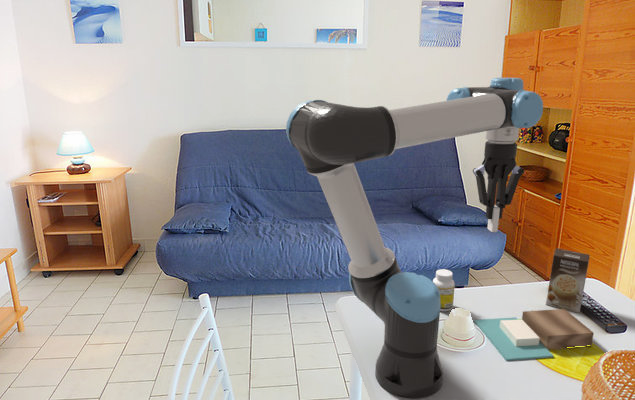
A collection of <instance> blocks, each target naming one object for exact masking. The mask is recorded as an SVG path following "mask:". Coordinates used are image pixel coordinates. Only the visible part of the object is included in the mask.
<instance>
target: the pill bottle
mask: <svg viewBox="0 0 635 400" xmlns="http://www.w3.org/2000/svg"><path fill="white" fill-rule="evenodd" d="M453 276H454V273H453V272H452V271H451V270H449V269H443V268H442V269H441V268H440V269H437V270H436V271H435V277H434V278H433V280H432V281H433V282H434V283H435V284H436V286H437V287H438V289H439V292H440V304H441V309H440V312H449V311H452V310H453V307H454V296H455V286H456V285H455V281H454V279H453Z"/></svg>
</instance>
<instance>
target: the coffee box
mask: <svg viewBox="0 0 635 400" xmlns="http://www.w3.org/2000/svg"><path fill="white" fill-rule="evenodd" d="M553 253H554V254H553V257H552V263H551V272H550V275H549V282H548V286H547V287H548V289H547V294H546V295H547V296H546V301H545V306H550V307H553V308H557V309H565V310H567V311H568V312H570V311H571V312H574V313H579V314H580V311H581V306H582V302H583V296H584V291H585V284H586V280H587V275H588V268H589V263H590V254H588V253H582V252H576V251H573V250H567V249H562V248H555V250H554V252H553Z"/></svg>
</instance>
